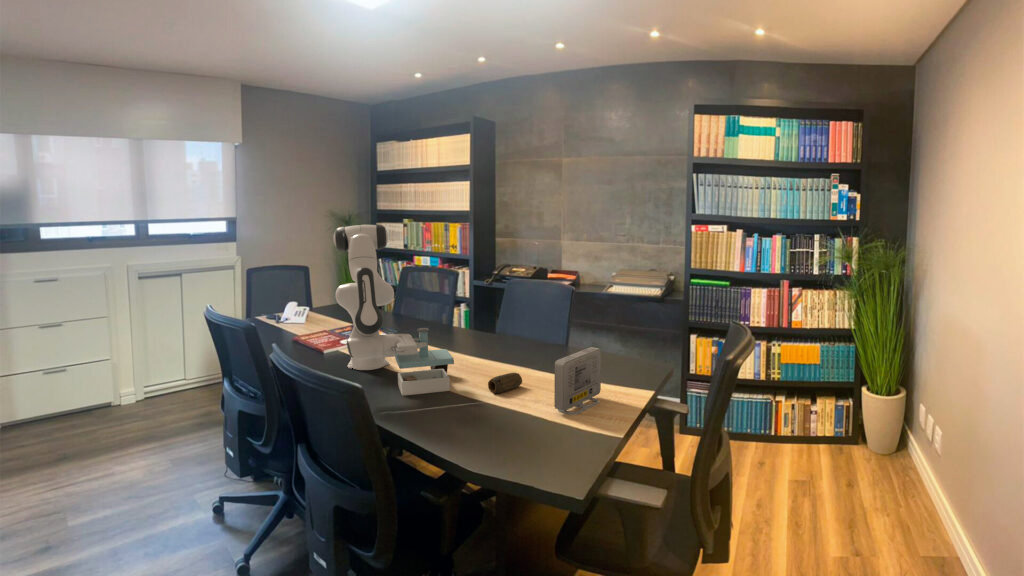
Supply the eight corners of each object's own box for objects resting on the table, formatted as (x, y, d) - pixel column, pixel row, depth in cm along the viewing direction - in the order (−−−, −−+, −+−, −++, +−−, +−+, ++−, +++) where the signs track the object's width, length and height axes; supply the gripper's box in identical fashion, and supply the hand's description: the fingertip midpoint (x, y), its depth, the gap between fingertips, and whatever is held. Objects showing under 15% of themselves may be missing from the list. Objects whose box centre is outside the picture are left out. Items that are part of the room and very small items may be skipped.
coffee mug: (451, 378, 262) (451, 355, 261) (432, 380, 259) (431, 358, 258) (444, 371, 273) (443, 349, 271) (425, 373, 270) (424, 351, 268)
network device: (587, 394, 241) (587, 345, 237) (606, 399, 235) (607, 348, 232) (549, 413, 221) (549, 359, 218) (569, 418, 216) (569, 364, 212)
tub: (398, 386, 252) (397, 372, 251) (443, 382, 257) (443, 368, 256) (402, 397, 240) (401, 382, 239) (449, 391, 245) (449, 377, 244)
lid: (395, 358, 247) (394, 327, 245) (446, 354, 253) (445, 323, 251) (399, 368, 233) (398, 335, 230) (453, 363, 239) (453, 331, 237)
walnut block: (404, 386, 250) (403, 377, 249) (413, 385, 252) (412, 375, 251) (407, 389, 247) (407, 380, 246) (417, 387, 249) (416, 378, 248)
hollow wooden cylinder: (499, 397, 239) (499, 380, 238) (486, 393, 244) (486, 377, 243) (524, 387, 250) (524, 371, 249) (511, 383, 255) (511, 368, 254)
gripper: (393, 343, 227) (429, 340, 231) (387, 332, 247) (421, 329, 251) (393, 360, 228) (430, 357, 232) (388, 347, 248) (422, 344, 252)
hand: (425, 342), depth 242 cm, fingers closed on lid, 3 cm apart
